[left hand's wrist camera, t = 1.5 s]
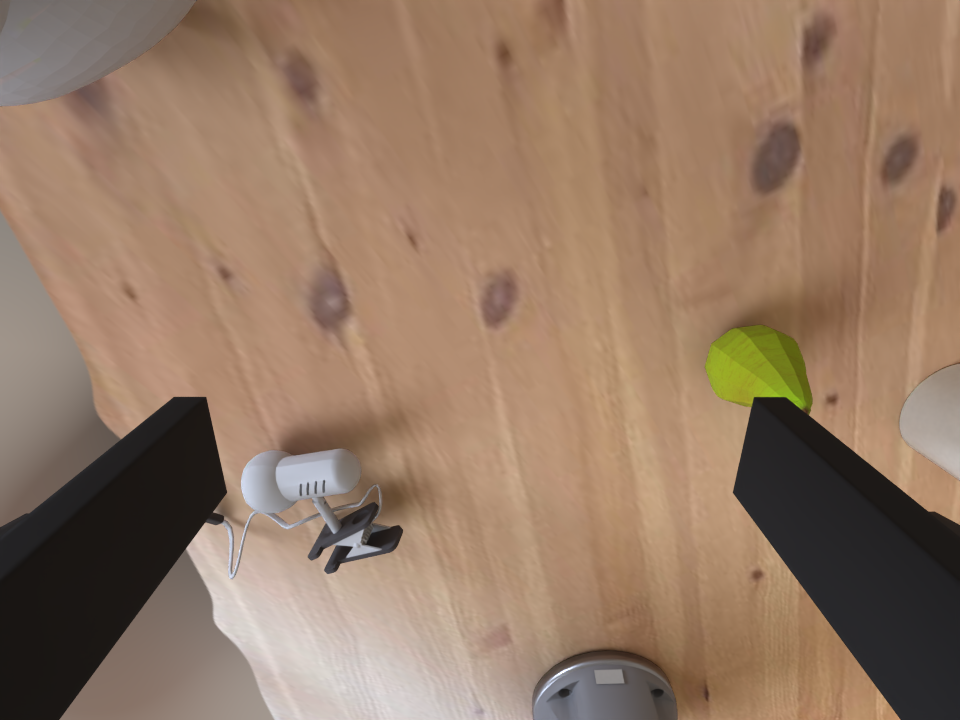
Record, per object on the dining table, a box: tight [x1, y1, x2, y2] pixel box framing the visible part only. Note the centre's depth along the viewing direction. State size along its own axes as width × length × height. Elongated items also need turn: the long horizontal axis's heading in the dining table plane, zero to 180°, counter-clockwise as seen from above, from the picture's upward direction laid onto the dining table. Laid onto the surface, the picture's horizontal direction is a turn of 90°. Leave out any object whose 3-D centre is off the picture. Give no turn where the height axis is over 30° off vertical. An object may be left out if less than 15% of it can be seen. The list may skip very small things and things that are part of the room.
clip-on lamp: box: [206, 449, 403, 579], centre depth 44 cm, size 12×6×18 cm
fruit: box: [705, 325, 812, 415], centre depth 36 cm, size 6×6×12 cm
